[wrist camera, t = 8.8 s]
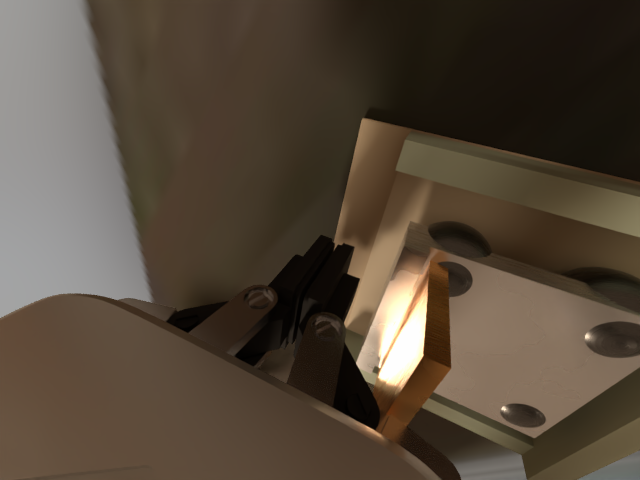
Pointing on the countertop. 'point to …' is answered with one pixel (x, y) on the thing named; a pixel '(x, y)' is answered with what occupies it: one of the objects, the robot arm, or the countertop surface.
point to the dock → (505, 240)
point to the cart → (496, 331)
